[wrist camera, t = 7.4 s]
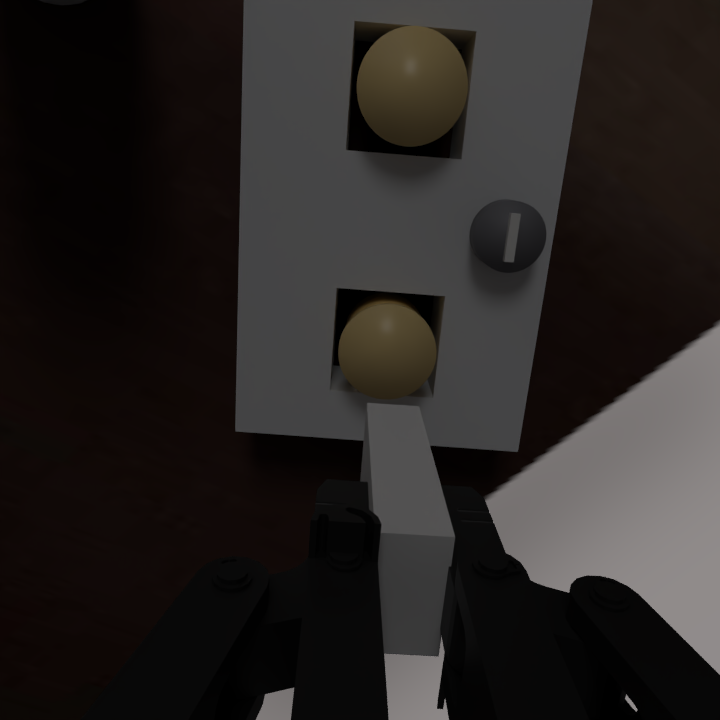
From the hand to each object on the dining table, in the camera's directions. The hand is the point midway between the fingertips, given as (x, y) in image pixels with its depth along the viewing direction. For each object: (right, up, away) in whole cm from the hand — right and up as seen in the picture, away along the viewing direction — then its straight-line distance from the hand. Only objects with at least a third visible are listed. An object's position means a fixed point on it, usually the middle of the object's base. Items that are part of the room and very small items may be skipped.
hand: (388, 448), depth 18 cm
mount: (+1, +10, +13) cm, 17 cm away
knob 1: (+1, +14, +10) cm, 18 cm away
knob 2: (0, +4, +14) cm, 14 cm away
